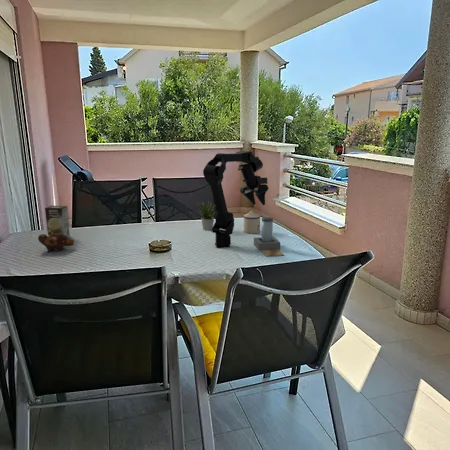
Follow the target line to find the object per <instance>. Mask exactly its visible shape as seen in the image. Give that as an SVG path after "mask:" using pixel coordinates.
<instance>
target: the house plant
mask: <svg viewBox="0 0 450 450" xmlns="http://www.w3.org/2000/svg"><path fill="white" fill-rule="evenodd" d="M209 202H210V200H208V202H207V203H209ZM195 203H196V204H197V205H196V207H198V208H199V209H200V210H198V212H197V213H199V216H203V217H201V218H200V220H201V226H202V230H204V231H212V228H213V226H214V223H215V221H214V220H215V218H214V217H213V216H215V214H217V211H216V210H213V209H214V208H216V206H215V204H214V205H212V203H209V204H205V203H204V202H201V204H200V203H199V202H197V201H196V202H195ZM206 205H207V206H206Z"/></svg>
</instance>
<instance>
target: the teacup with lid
mask: <svg viewBox="0 0 450 450" xmlns="http://www.w3.org/2000/svg"><path fill="white" fill-rule="evenodd" d="M260 230H261V215H260V214H259V213H257V212H255V211H254V210H250V211H249V212H247V213H246V214H243V232H244V233H245V234H251V235H255V234H259V233H260V232H261V231H260Z"/></svg>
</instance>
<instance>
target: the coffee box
mask: <svg viewBox="0 0 450 450" xmlns="http://www.w3.org/2000/svg"><path fill="white" fill-rule="evenodd" d="M44 211H45V220H46V229H47V230H46V231H47V236H48V237H49V236H50V235H51V234H54V233H61V234H64V235H66V236H68V238H70V236H71V233H70V222H69V211H68V205H49V206H46V207H44Z"/></svg>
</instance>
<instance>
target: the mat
mask: <svg viewBox="0 0 450 450" xmlns="http://www.w3.org/2000/svg"><path fill="white" fill-rule="evenodd" d="M261 252H262V254H263V255H264V256H265V257H266V258H268V257H269V258H270V257H282V256H283V257H284V256H285V254H284V253H283V252H282V251H281V249H280V250H279V249H273V250H262V251H261Z"/></svg>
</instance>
